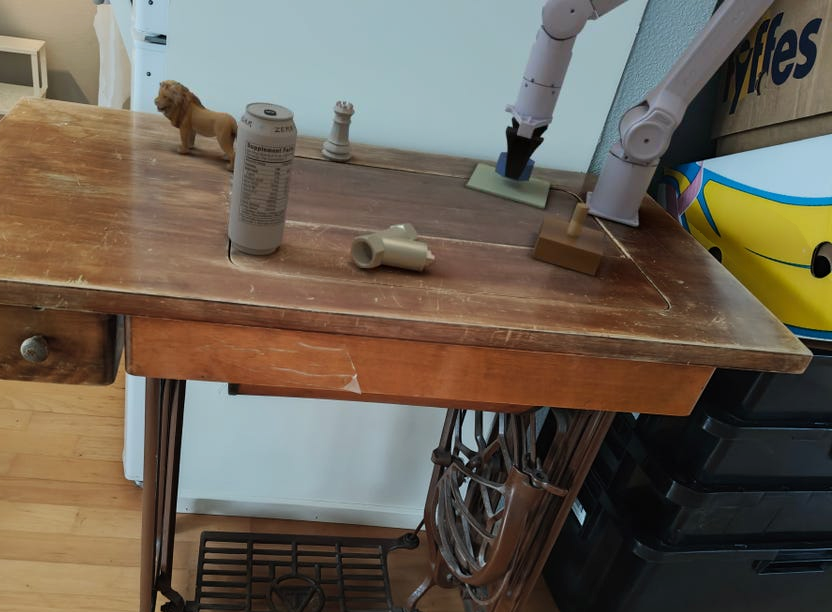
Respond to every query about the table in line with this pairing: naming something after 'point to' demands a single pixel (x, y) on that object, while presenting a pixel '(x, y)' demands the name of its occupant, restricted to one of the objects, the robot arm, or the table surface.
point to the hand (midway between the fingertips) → (513, 171)
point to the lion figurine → (196, 119)
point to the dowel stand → (570, 242)
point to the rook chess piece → (339, 133)
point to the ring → (502, 163)
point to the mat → (509, 186)
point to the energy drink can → (262, 177)
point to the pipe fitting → (392, 249)
